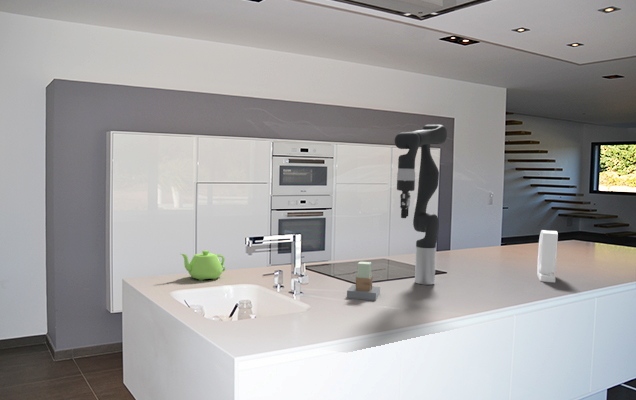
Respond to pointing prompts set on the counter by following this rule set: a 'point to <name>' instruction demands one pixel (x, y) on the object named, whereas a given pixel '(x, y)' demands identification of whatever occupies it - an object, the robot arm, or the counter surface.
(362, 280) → the walnut block
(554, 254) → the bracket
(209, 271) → the teapot
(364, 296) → the slate trivet
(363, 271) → the sage block
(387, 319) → the counter surface
